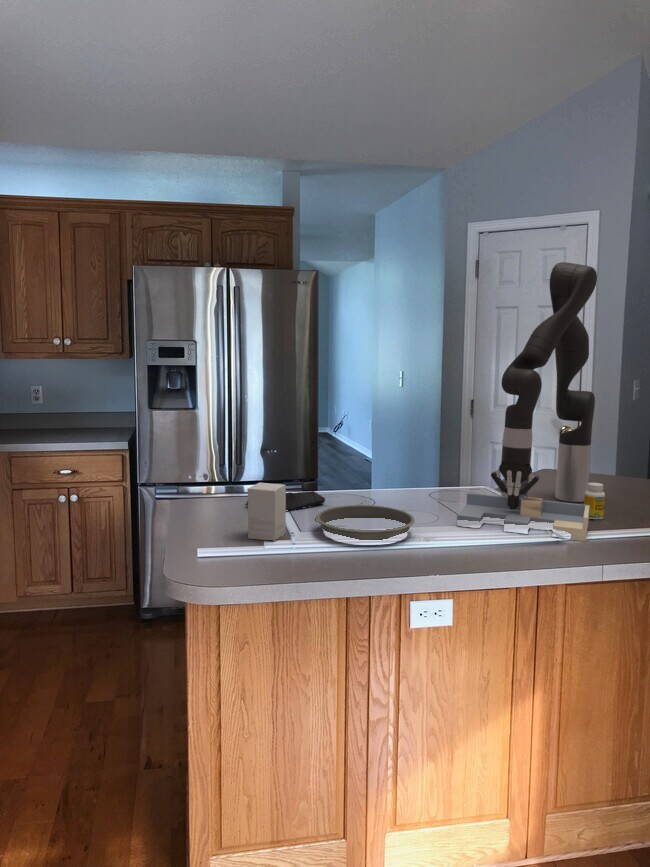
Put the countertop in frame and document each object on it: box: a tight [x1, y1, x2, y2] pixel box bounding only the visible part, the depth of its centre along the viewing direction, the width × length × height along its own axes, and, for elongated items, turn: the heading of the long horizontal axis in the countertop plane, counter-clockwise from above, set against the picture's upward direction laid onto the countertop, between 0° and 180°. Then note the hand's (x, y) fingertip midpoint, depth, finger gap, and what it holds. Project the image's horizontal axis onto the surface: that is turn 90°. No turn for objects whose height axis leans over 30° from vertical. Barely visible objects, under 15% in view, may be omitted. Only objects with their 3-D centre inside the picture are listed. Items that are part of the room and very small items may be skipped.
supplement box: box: [247, 482, 287, 541], centre depth 180 cm, size 7×7×13 cm
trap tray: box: [456, 492, 590, 542], centre depth 194 cm, size 14×32×6 cm, turn 69°
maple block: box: [520, 496, 544, 518], centre depth 195 cm, size 5×5×4 cm
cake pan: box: [315, 504, 416, 540], centre depth 186 cm, size 25×25×4 cm
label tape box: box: [500, 475, 530, 498], centre depth 215 cm, size 9×4×12 cm, turn 135°
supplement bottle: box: [583, 482, 606, 520], centre depth 204 cm, size 5×5×10 cm
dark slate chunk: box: [244, 490, 326, 511], centre depth 212 cm, size 15×22×5 cm
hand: (512, 508), depth 197 cm, fingers closed
